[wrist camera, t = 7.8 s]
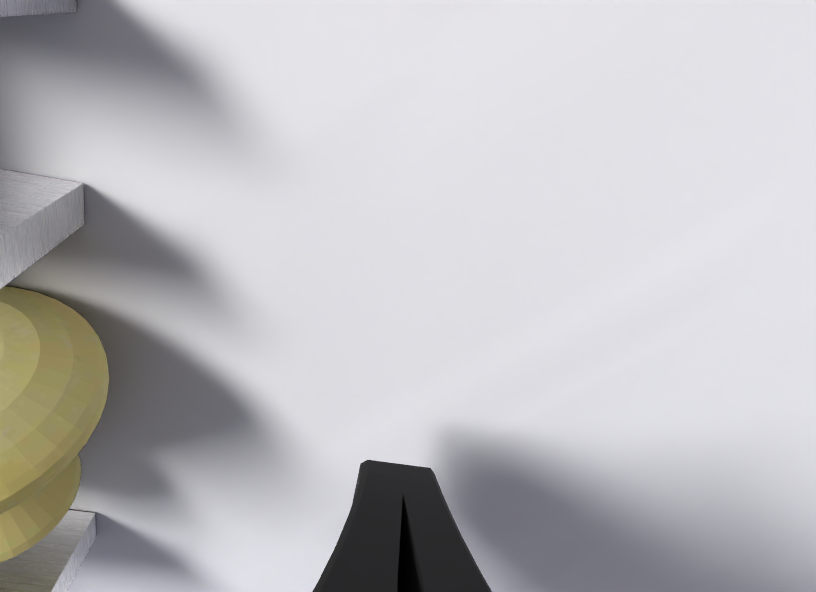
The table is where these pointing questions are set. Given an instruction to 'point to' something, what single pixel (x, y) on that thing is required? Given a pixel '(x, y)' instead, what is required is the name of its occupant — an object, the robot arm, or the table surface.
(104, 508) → the table surface
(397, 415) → the table surface
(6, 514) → the knob
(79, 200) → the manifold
